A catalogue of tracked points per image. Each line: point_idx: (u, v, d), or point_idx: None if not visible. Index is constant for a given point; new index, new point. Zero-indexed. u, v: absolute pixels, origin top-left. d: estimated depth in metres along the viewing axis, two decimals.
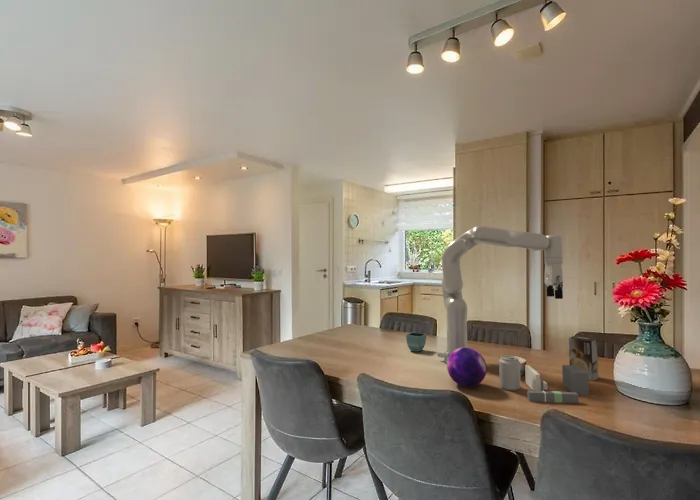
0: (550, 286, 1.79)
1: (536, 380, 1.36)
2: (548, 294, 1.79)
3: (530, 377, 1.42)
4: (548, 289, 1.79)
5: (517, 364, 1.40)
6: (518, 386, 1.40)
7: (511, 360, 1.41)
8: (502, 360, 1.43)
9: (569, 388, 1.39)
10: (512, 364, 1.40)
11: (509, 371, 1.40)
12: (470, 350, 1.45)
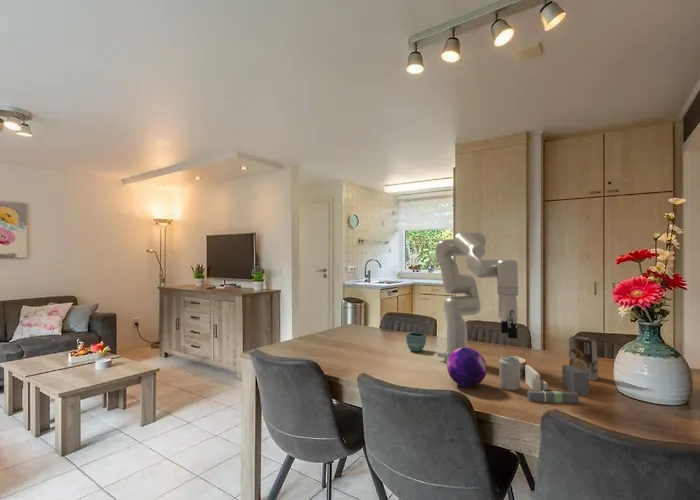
0: (505, 321, 1.49)
1: (536, 380, 1.36)
2: (503, 330, 1.48)
3: (530, 377, 1.42)
4: (503, 324, 1.48)
5: (517, 364, 1.40)
6: (518, 386, 1.40)
7: (511, 360, 1.41)
8: (502, 360, 1.43)
9: (569, 388, 1.39)
10: (512, 364, 1.40)
11: (509, 371, 1.40)
12: (470, 350, 1.45)
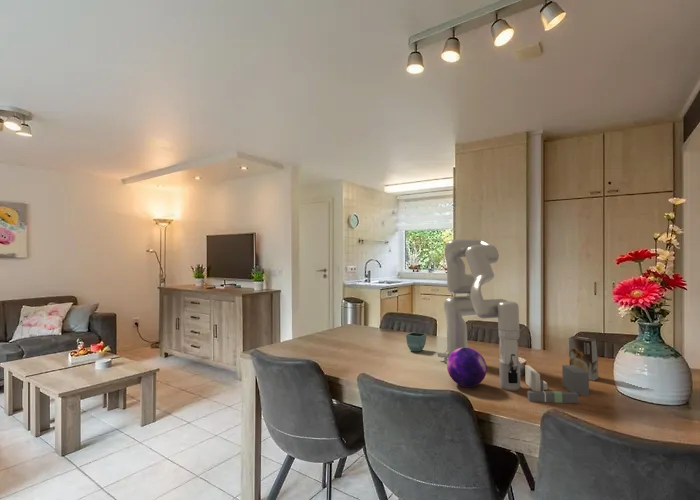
0: None
1: (536, 380, 1.36)
2: None
3: (530, 377, 1.42)
4: None
5: None
6: (518, 386, 1.40)
7: None
8: (502, 360, 1.43)
9: (569, 388, 1.39)
10: None
11: None
12: (470, 350, 1.45)
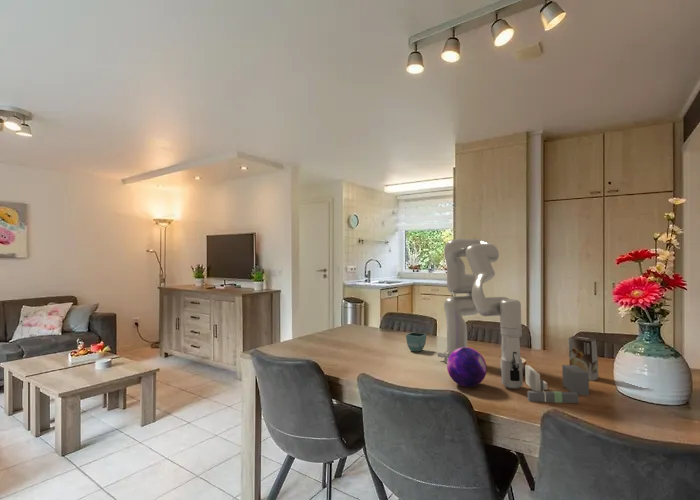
0: None
1: (536, 380, 1.36)
2: None
3: (530, 377, 1.42)
4: None
5: None
6: (520, 384, 1.40)
7: None
8: (504, 358, 1.43)
9: (569, 388, 1.39)
10: None
11: None
12: (470, 350, 1.45)
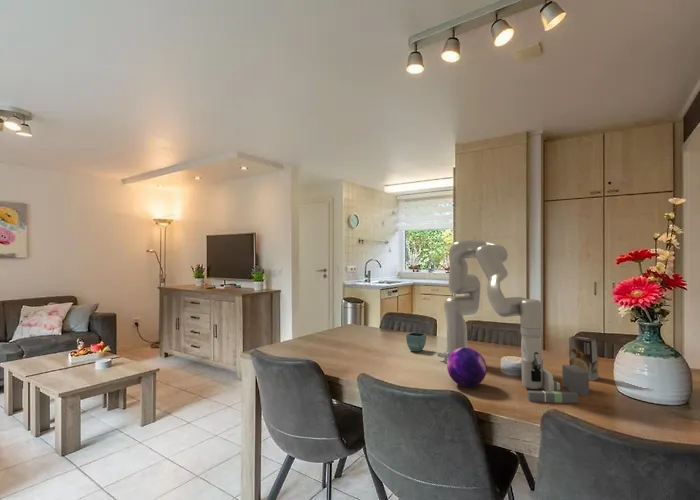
0: None
1: (549, 380, 1.36)
2: None
3: (543, 377, 1.41)
4: None
5: None
6: (541, 384, 1.39)
7: None
8: None
9: (569, 388, 1.39)
10: None
11: None
12: (470, 350, 1.45)
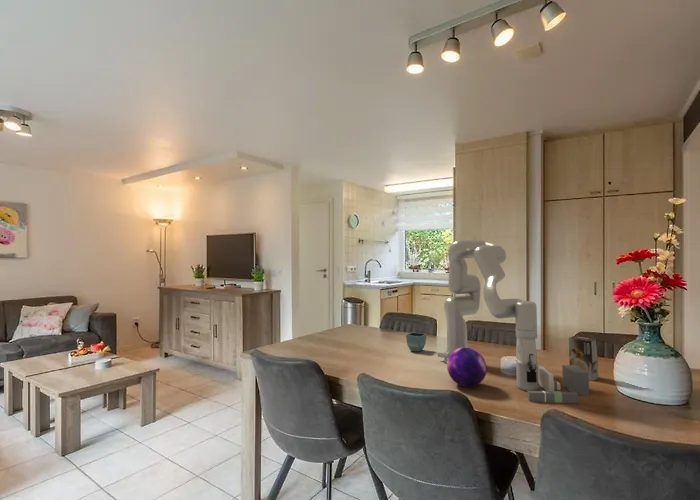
0: None
1: (549, 380, 1.36)
2: None
3: (543, 377, 1.41)
4: None
5: None
6: (536, 386, 1.39)
7: None
8: (519, 360, 1.42)
9: (569, 388, 1.39)
10: None
11: (526, 372, 1.39)
12: (470, 350, 1.45)
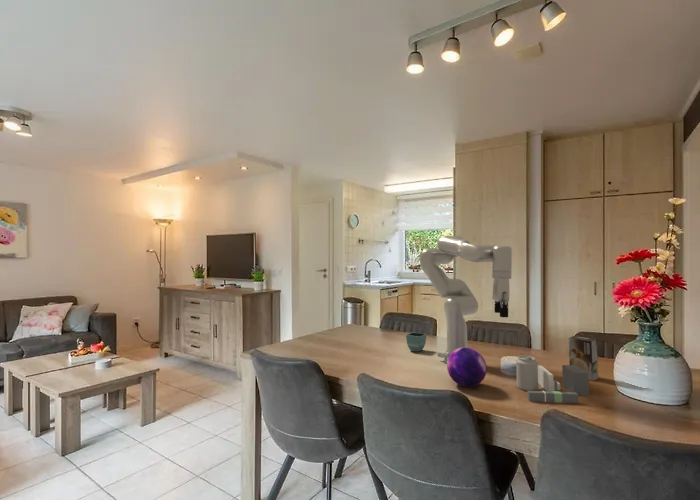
0: (498, 301, 1.63)
1: (549, 380, 1.36)
2: (496, 310, 1.62)
3: (543, 377, 1.41)
4: (496, 305, 1.62)
5: (535, 364, 1.39)
6: (536, 386, 1.39)
7: (529, 360, 1.40)
8: (519, 360, 1.42)
9: (569, 388, 1.39)
10: (530, 364, 1.39)
11: (526, 372, 1.39)
12: (470, 350, 1.45)
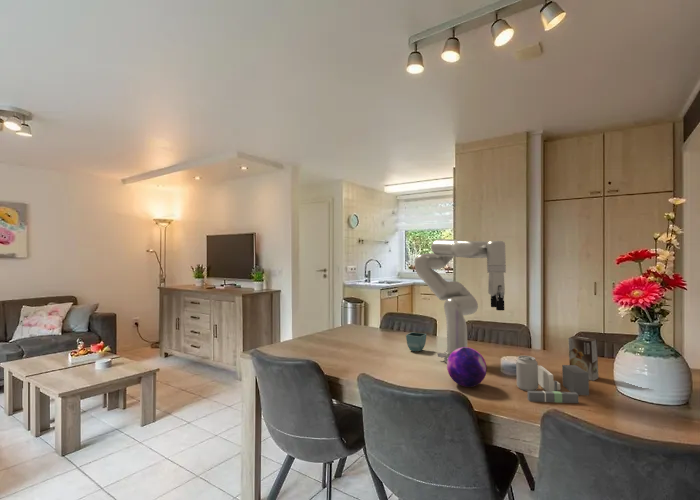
0: (494, 296, 1.66)
1: (549, 380, 1.36)
2: (492, 305, 1.65)
3: (543, 377, 1.41)
4: (492, 299, 1.65)
5: (535, 364, 1.39)
6: (536, 386, 1.39)
7: (529, 360, 1.40)
8: (519, 360, 1.42)
9: (569, 388, 1.39)
10: (530, 364, 1.39)
11: (526, 372, 1.39)
12: (470, 350, 1.45)
